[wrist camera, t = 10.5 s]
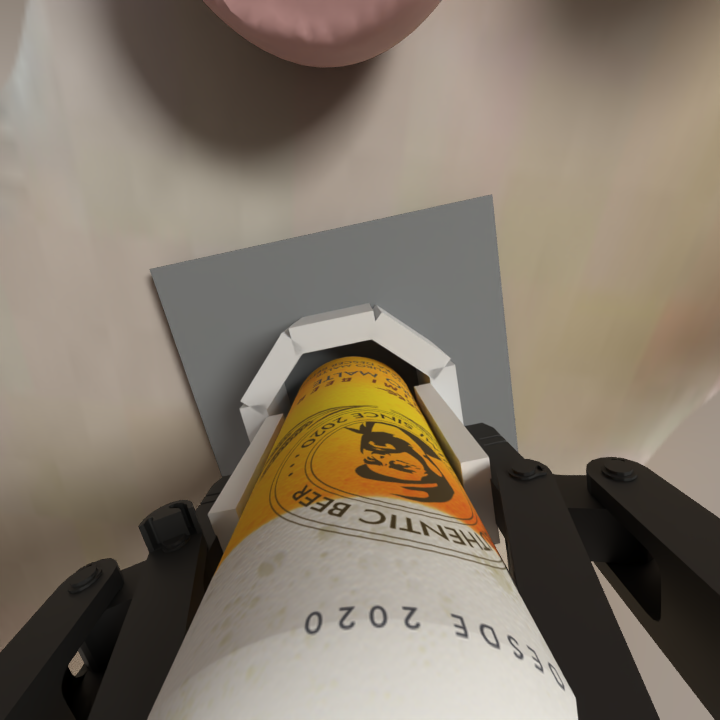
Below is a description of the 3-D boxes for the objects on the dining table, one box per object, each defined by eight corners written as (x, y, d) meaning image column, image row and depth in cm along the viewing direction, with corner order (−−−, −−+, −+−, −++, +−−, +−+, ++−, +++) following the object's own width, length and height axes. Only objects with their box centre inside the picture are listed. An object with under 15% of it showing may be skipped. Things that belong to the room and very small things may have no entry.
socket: (160, 269, 18) (91, 267, 14) (484, 198, 18) (533, 170, 13) (252, 538, 23) (224, 609, 18) (515, 488, 22) (560, 547, 17)
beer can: (423, 365, 17) (813, 810, 3) (396, 469, 19) (565, 1140, 4) (307, 342, 17) (39, 729, 2) (288, 450, 18) (42, 1131, 4)
